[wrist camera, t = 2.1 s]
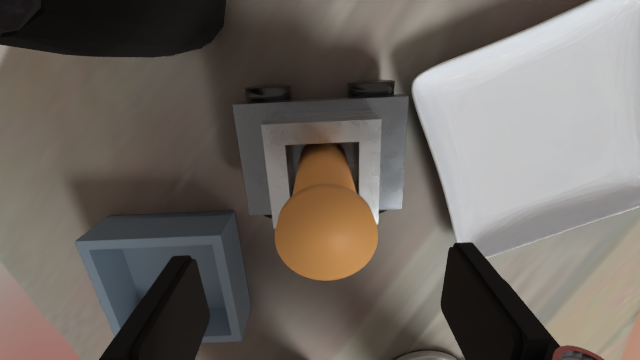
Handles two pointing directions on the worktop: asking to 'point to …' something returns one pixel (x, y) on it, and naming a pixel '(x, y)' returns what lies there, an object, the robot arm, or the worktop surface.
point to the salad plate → (538, 127)
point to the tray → (155, 252)
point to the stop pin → (325, 218)
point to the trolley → (322, 141)
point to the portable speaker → (111, 26)
